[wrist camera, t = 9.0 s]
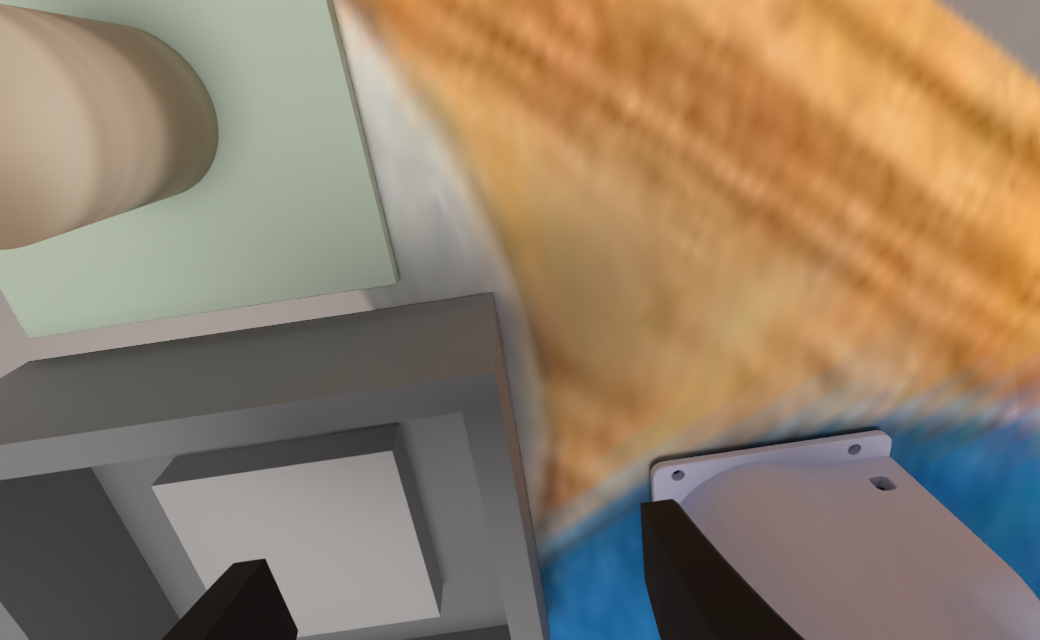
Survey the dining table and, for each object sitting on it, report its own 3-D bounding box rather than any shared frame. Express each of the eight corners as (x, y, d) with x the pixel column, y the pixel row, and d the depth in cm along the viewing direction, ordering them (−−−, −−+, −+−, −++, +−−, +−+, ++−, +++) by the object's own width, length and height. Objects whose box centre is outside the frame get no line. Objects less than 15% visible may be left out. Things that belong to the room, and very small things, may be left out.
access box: (493, 292, 18) (495, 371, 13) (547, 613, 24) (562, 749, 19) (29, 361, 18) (-149, 467, 13) (205, 663, 25) (132, 811, 20)
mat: (285, -191, 13) (276, -203, 12) (399, 277, 18) (396, 283, 17) (-206, -115, 13) (-237, -124, 12) (42, 330, 18) (28, 338, 17)
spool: (180, 11, 14) (3, -34, 9) (241, 185, 16) (124, 232, 11) (10, 37, 14) (-264, 8, 9) (90, 208, 16) (-99, 265, 11)
